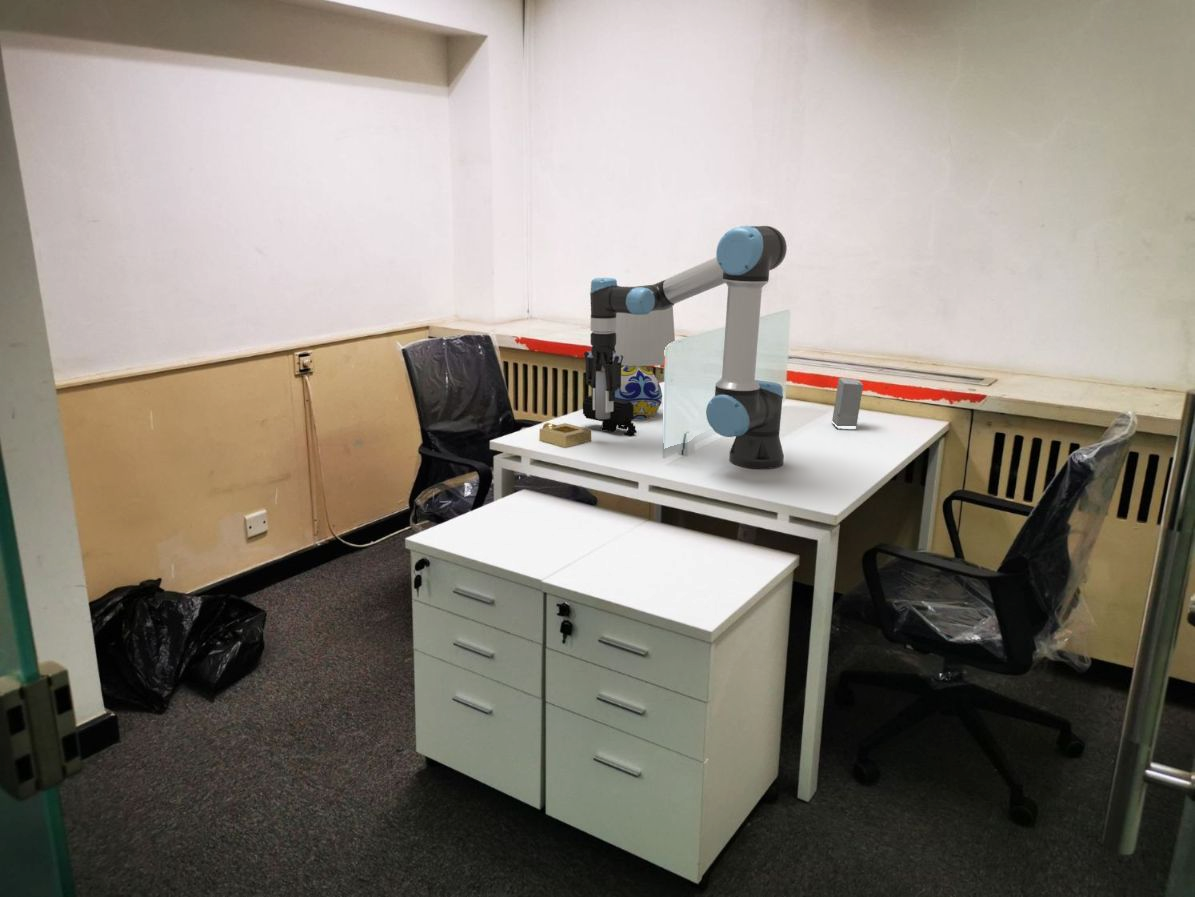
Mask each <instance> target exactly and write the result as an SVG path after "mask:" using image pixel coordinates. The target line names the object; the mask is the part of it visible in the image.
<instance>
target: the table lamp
mask: <svg viewBox="0 0 1195 897" xmlns="http://www.w3.org/2000/svg"><path fill="white" fill-rule="evenodd" d="M614 332H615V333H616V345H615V351H616V354H618V355H619V356H620V355H622V356H623V360H622V363H621V388H619V389H616V390H615V399H618V400H624V401H629V402H631V404H632V406H634V410H633V418H632V420H636V421H637V420H647V418H648V419H651V418H650V417H652V416H653V417H654V416H655V415H656V414H657V412H658V411H659V409H660V407H661V404H662V403H663V392H662V388H661V385H660V383H659V380H658V378H657V377H656V375H655V374H654V373H653V371H652V370H650V369H649V368H648V367H653V366H664V350H665V347H666V346H667V345H668V344H669V343H671V342H673V341H675V342H676V340H675V339H676V335H675V321H674V305H673V306H672V307H671V308H668V309H665V310H656V311H650V313H649V314H646V315H635V314H627V313H617V314H616V331H614ZM622 366H623V367H622ZM653 417H652V418H653Z"/></svg>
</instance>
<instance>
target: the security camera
mask: <svg viewBox="0 0 1195 897" xmlns="http://www.w3.org/2000/svg"><path fill="white" fill-rule="evenodd" d="M633 410H634V406H632V404H631V402H629V401H624V400H618V399H615V401H613V411H612V412H610V418H609V419H597V418H596V410H593V398H592V397H591V395H589V396H586V397H585V399H584V401H583V402H582V415H583V416H584V417H585V418H586V419H589V420H594V421H599V422H601V423H602V424H601V425H602V426H601V427H600V430H599V431H603V432H609V433H615V432H617V429H622V430H625V432H624V433H623V436H628V437H632V436H635V434H637V433H638V432H637V431H638V430H637V429H636V425H634V422H632V420H633V419H632V418H633Z"/></svg>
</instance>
